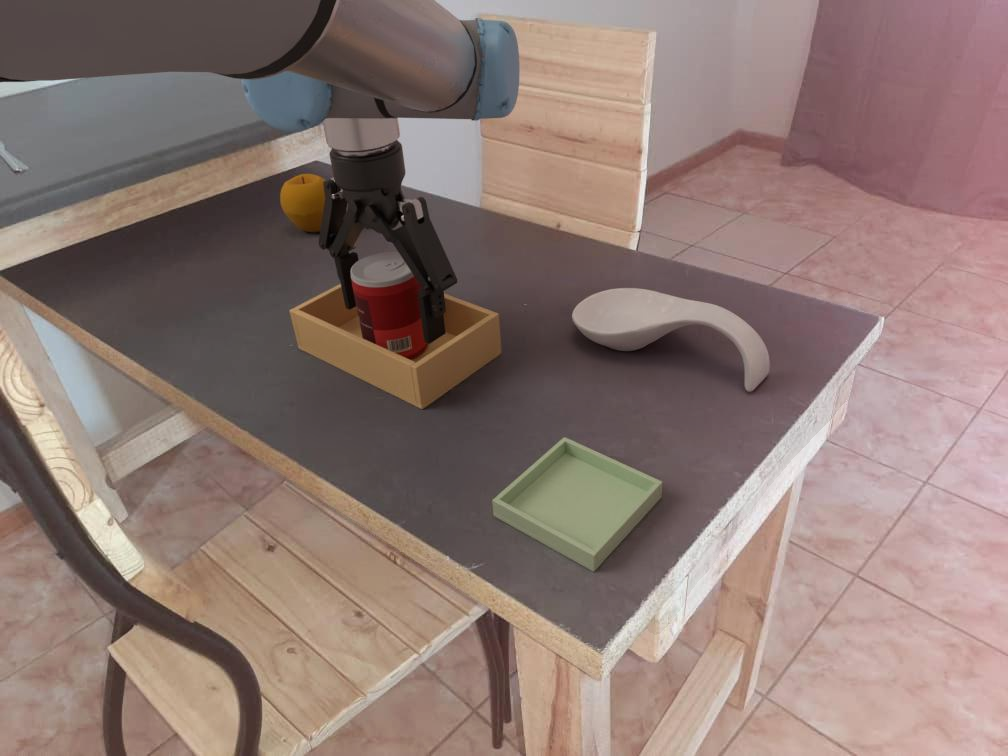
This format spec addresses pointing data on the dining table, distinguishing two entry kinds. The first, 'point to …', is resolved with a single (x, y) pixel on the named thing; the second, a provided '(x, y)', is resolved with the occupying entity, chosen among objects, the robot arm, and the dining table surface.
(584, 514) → the tray
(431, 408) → the dining table surface
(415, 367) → the open wooden box
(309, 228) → the apple
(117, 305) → the dining table surface
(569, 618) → the dining table surface
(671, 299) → the spoon rest
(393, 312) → the canned food
